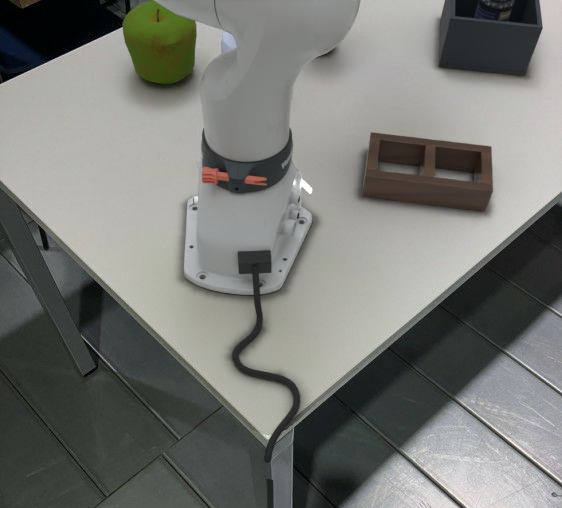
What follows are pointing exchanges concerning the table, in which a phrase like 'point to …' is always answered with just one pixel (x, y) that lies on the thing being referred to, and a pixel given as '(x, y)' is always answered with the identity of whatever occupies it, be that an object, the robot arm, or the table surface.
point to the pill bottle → (494, 10)
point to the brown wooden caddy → (429, 172)
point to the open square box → (489, 38)
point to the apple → (160, 43)
